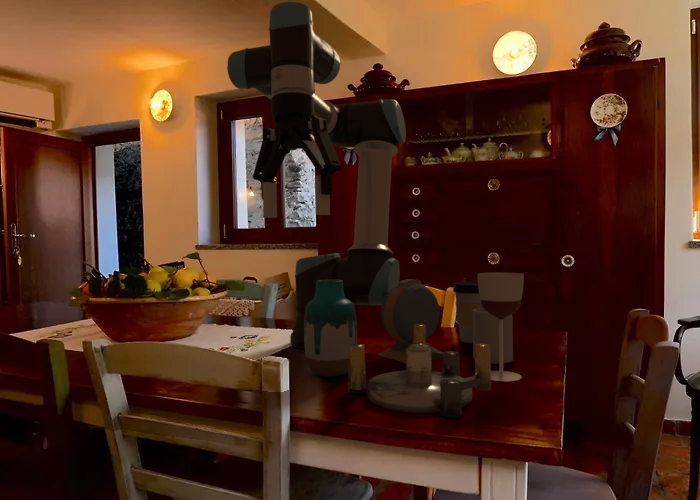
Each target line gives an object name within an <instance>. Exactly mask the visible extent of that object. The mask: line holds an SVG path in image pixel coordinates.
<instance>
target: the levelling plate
mask: <svg viewBox="0 0 700 500" xmlns="http://www.w3.org/2000/svg"><path fill="white" fill-rule="evenodd" d="M432 367H433V366H432V358H431V349H430V348H429V346H428V345H424V344H412V345H409V346H408V348H407V349H406V363H405V370H397V371H391V372H385V373H382V374H378V375H375V376H374V377H372V378H370V379H369V380H368V382H367V383H366V390H367V399H368V400H369V401H370V402H371V403H372V404H374V405H376V406H378V407H380V408H383V409H387V410H389V411H390V410H391V411H396V412H401V413H409V414H412V413H413V414H436V413H437V414H439V413H441V395H440V381H441V380H443V379H456V380H459V379H463V378H464V377H462V376H457V375H453V374H449V373H444V372H443V371H436V370H432ZM472 401H473V387H472V388H468V389H464V390H462V408H464V407H466V406H468V405H469V404H470V403H471V402H472Z"/></svg>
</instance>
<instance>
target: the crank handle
mask: <svg viewBox="0 0 700 500" xmlns="http://www.w3.org/2000/svg"><path fill="white" fill-rule="evenodd" d="M413 333H414V344H424V345H426V343H427V341H426V340H427V339H426V325H425V324H414V325H413ZM439 351H440V350H439ZM439 351H433V350H431V360H432V359H435V360H440V361H441V363H442V364H441V365H442V372H444V373H449V374H453V375H457V376H460V375H461V374H460V373H461V372H460V371H461V370H460V366H461V365H460V362H461V361H460V352H457V351H452V350H451V351H450V350H448V351H441V352H439ZM460 377H461V376H460Z"/></svg>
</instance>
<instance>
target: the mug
mask: <svg viewBox="0 0 700 500" xmlns="http://www.w3.org/2000/svg"><path fill="white" fill-rule="evenodd" d="M513 339H514V338H513V314H511V315H509V316H507V317H506V318H504V319H503V364H509V363H511V362H512V361H514V349H513V347H514V346H513V345H514V344H513V343H514V342H513ZM472 344H473V347H472V356H473V359H474V360H475V345H476V344H488V345H490V364H491V365H496V364H497V365H499V319H498V318H497V317H495V316H493V315H491V314H490V313H488V312H487V311H486V310H485V309H484V308H476V309H474V310H473V343H472Z"/></svg>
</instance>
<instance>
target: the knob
mask: <svg viewBox="0 0 700 500" xmlns="http://www.w3.org/2000/svg"><path fill="white" fill-rule="evenodd" d="M365 351H366V350H365V344H362V343H357V344H352V345H350V362H349V363H348V373H347V388H348V389H347V392H348V393H349V394H354V395H355V394H356V395H359V394H360V395H361V394H365V393H366V392H367V370H366V369H367V368H366V364H367V363H366V358H365V357H366V352H365Z"/></svg>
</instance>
